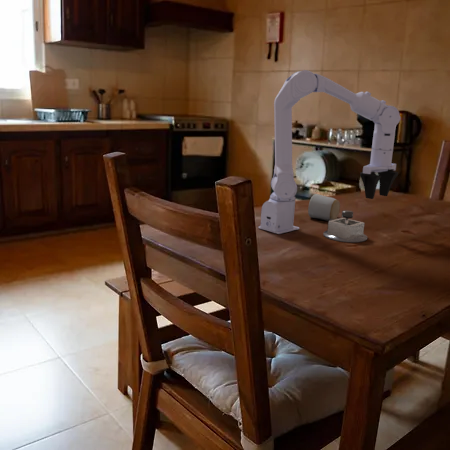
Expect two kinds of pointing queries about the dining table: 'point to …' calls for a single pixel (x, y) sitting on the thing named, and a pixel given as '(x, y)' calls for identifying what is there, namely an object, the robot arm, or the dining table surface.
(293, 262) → the dining table surface
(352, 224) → the press
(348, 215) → the plunger
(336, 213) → the ceramic mug
